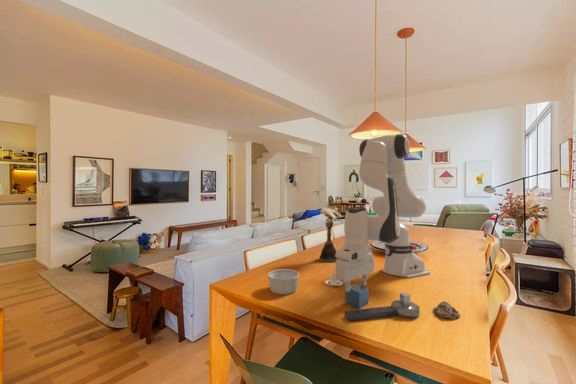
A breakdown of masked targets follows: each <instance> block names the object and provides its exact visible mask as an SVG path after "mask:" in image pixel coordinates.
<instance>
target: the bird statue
mask: <svg viewBox="0 0 576 384" xmlns="http://www.w3.org/2000/svg"><path fill="white" fill-rule="evenodd" d="M334 207H335V205H334V204H332V206H330V204H329V202H328V201H326V202H325V207H324V206H323V207H321V210H322V211H324V212H325V213H326V215H327V218H326V220H325V222H324V224H325V227H326V230H327V231H326V237H327V239H326V241H325V242H324V244H323V247H322V249H321V252H320V256H319V260H320V261H321V260H322V261H321V262H324V261H325V262H324V263H336V260H337V259H338V258H336V256H335V254H336V252H337V249H336V248H335V246H334V243H333V241H332V228H333V226H334V222H333V221H335V222H337V220H343V219H344V220H345V215H346V214H345V215H342V214H341V213H340V212H338V211H337V210H335V209H334Z"/></svg>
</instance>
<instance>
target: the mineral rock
mask: <svg viewBox="0 0 576 384" xmlns="http://www.w3.org/2000/svg"><path fill="white" fill-rule="evenodd" d="M432 310H433V313H434V314H435V316H439V317H441V318H444V319H449V320H456V319H459V318H460V316H461V314H460V313H459V311H458V310H456V308H455V307H453V306H452V305H451V304H450V303H449V302H447V301H444V300H443V301H441V302H439V304H438V305H437V306H435V307H433V308H432Z"/></svg>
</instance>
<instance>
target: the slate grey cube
mask: <svg viewBox="0 0 576 384" xmlns="http://www.w3.org/2000/svg"><path fill="white" fill-rule="evenodd" d="M350 286H351V287H352V291H351V292H346V291H345V294H344V297H345V302H344V303H345V305H348V306H350V307H353V308H356V309H357V310H358V309H363V307H365V306H367V305H369V287H366V286H361V285H359V284H357V283H353V284H350Z"/></svg>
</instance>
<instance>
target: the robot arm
mask: <svg viewBox="0 0 576 384" xmlns="http://www.w3.org/2000/svg"><path fill="white" fill-rule="evenodd" d="M410 149H411V143H410V139H409V137H408V136H407V135H406V134H403V133H401V134H400V133H398V134H387V135H386V134H385V135H381V136H376V137H372V138H365V139H363V140H362V142H361V143H360V145H359V149H358V151H359V152H358V153H359V155H360V157H361V159H360V163H359V164H360V165H359V172H358V173H359V176H358V177H359V179H360V180H361V181H362V183H363V184H364V185H365V186H367V187H369V188H371V189H374V190H377V191H379V192H381V193H382V194H383V195H379V196H376V197H375V198H374V199H373V201H372V203H371V207H372V211H373V212H374V213H375V215H373V214H368V209H367V208H366V207H363V206H353V207H349V208H347V209H346V210H345V217H344V218H345V219H344V225H343V227H344V231H343V232H344V236H345V238H344V241H343V245H342V247H341V248H340V249H338V250H336V254H335V256H336V258H338V259H337V260H336V262H335V268H334V269H335V273H334V274H335V275H336V279H337V280H338V281H341V282H342V283H343V284H344V287H345V288H344V289H345V291H346V292H351V291H352V287H351V284H350V283H351V280H354V279H357V278H360V277H361V279H360V280H359V281H360V282H359V284H360V286H364V287H366V286H367V280H368V278H369V274H371V273H374V271H375V257H374V254H373V250H372V249H371V248H370V247H369V246H370V245H369V244H370V243H369V241H379V242H382V243H384V253H385V257H384V262H383V263H384V264H383V268H382V272H383V273H385V274H388V275H390V276H397V277H398V276H399V277H403V278H408V279H409V278H414V277H415V278H416V277H420V276H425V275H430V274H431V272H430V270H429V269H427V268H426V266H425V262H424V260H423V259H422V258H421V257H420V256H418V255H417V254H416V253H415V252H414V251H417V249H418V247H417V245H412V244H410V230H409V228H408V227H407V226H406V225H404V224H403V223H401V222H400V220H399V218H411V219H412V218H419V217H422V216H423V215H424V214H425V212H426V207H427V206H426V202H425V201H424V199H423V198H422V197H421V196H419V195H418V194H416V193H415V192H414V191H413V190H412V188H411V187H410V185H409V183H408V179H407V172H406V165H405V159H404V158H405V157H407V155H408V154H409V153H410ZM413 250H414V251H413Z"/></svg>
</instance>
